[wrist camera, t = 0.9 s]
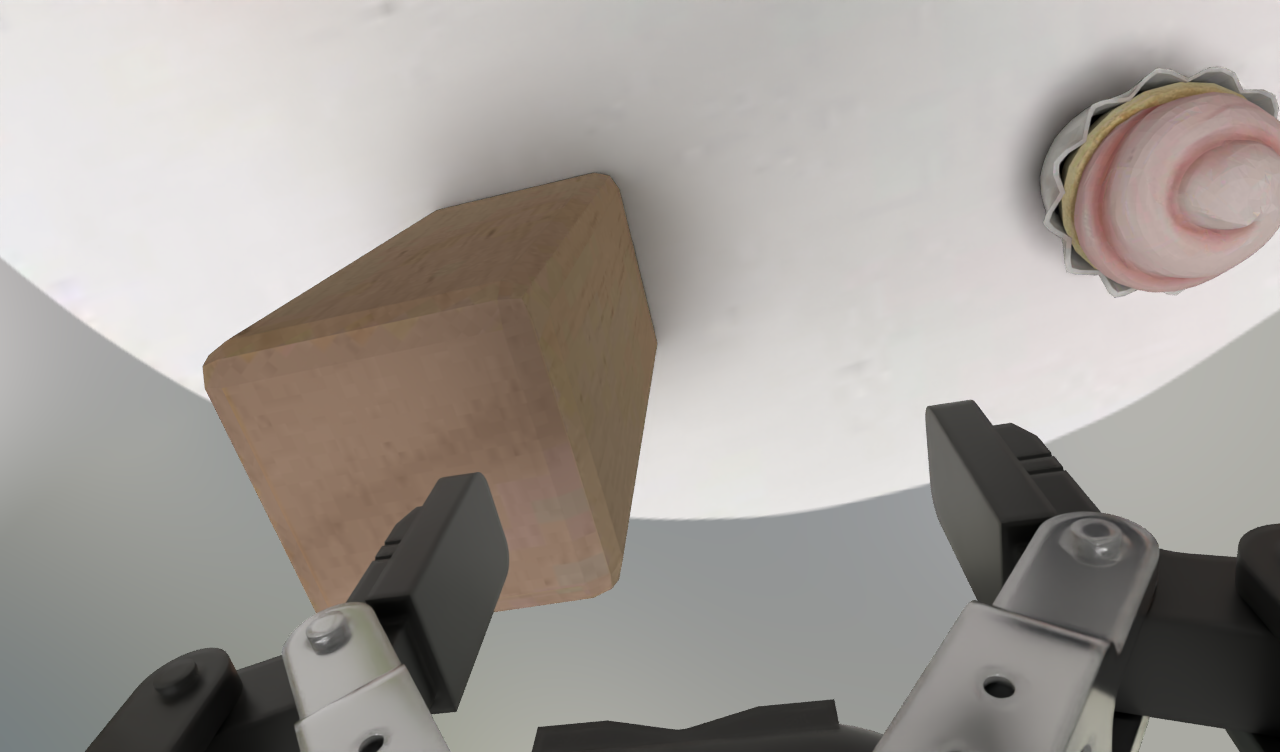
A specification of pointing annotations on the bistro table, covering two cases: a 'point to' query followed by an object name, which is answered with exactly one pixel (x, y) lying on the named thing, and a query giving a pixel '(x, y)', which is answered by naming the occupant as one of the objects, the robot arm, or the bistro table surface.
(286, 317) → the wooden block
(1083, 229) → the cupcake
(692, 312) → the bistro table surface
